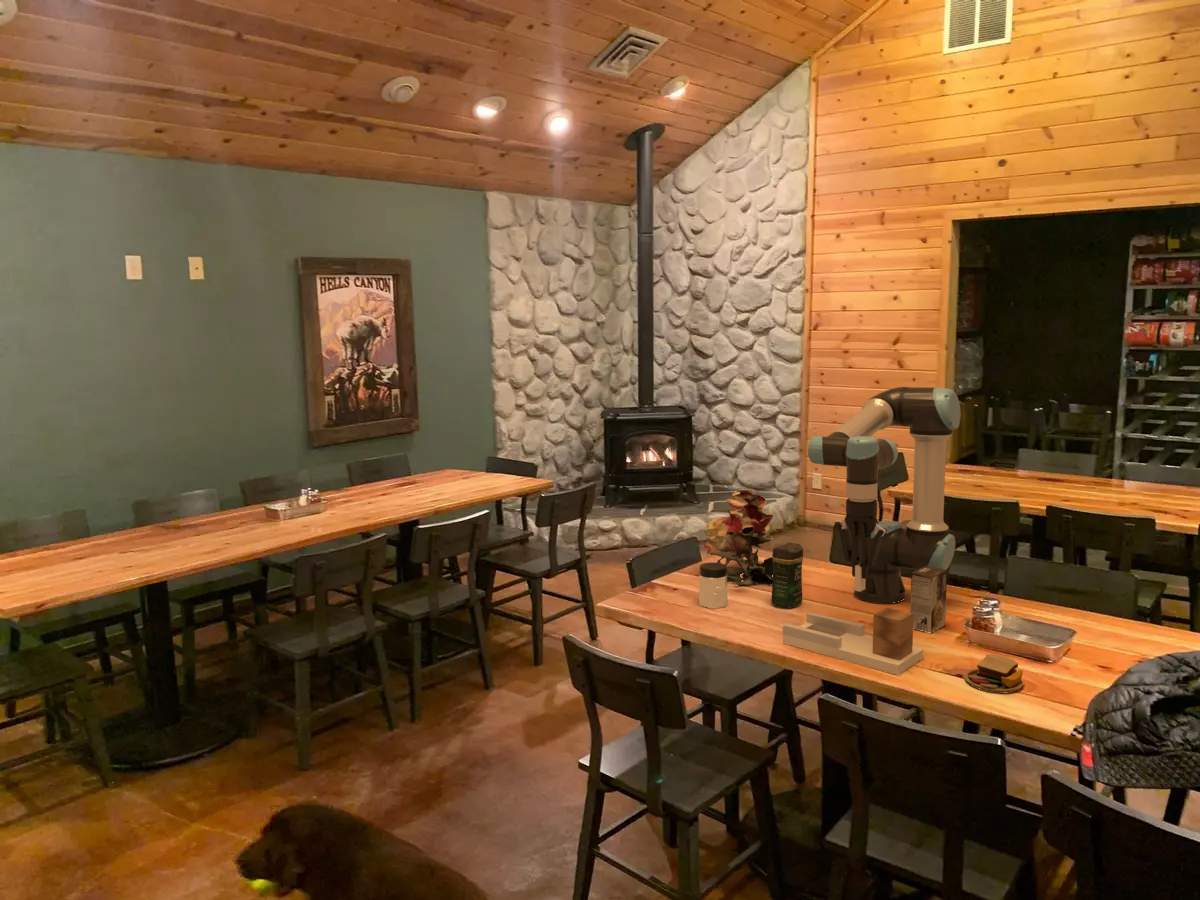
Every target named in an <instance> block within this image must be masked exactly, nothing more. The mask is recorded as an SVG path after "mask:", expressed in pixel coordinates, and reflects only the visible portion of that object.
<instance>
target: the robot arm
mask: <svg viewBox="0 0 1200 900" xmlns="http://www.w3.org/2000/svg"><path fill="white" fill-rule="evenodd" d="M960 404H961V403H960V401H959V397H958V395H957V394H956V393H955V391H954V390H952V389H950V388H945V387H944V388H943V387H937V386H936V387H926V386H925V387H923V386H922V387H919V386H917V387H914V386H913V387H911V386H909V387H908V386H898V387H893V388H890V389H887V390H884V391H882V392H879V393H877V394H875V395H874V396H872V397H870V398H869V399H868V400H866V401H865V402H864V403H863V405H862V407H861V410H859V411H857V412H856V413H855V414H853V416H852V417H850V418H849V419H848V420H847V421H845V422H844V423H843V424H842V425H840V426H838V428H836V429H835V430H834V431H833V432H831V433H830V434H829V435H828V436H824V435H819V436H812V438H810V440H809V442H808V445H807V456H808V459H809V461H810V462H811V463H812V464H815V465H822V466H833V467H834V466H835V467H845V468H846V479H845V481H846V483H845V484H846V485H845V487H846V488H845V497H846V498H847V499H846V500H845V513H846V514H845V517H844V520H843V521H841V522H837V523H836V524H835V527H836V529H837V531H838V532H839V536H840V541H841V546H842V551H843V555H844V556H843V557H844V560H845V562H850V563H851V569H852V570H851V575H852V577H853V578H854V589H853V591H854V592H853V596H854V595H855V596H856V597H857V599H858V598H859V599H858V600H860V599H861V601H863V600H864V601H863V602H867V601H868V602H867V603H872V602H877V603H876V604H880V603H892V604H894V603H893V602H898V601H901V600H903V599H905V597H907V594H906V593H907V591H906V588H905V584H904V581H903V578H902V575H901V574H902V573H901V568H903V569H909V570H910V569H911V570H914V571H916V570H918V569H920V568H922V567H924V566H930V567H935V568H939V569H944V570H947V569H948V568H949V567H950V565H951V563H952V561H953V558H954V554H955V549H956V537H955V536H954V535H953V534H951V533H949V530H950V529H949V526H948V525H947V523H945V521H944V513H945V512H944V511H945V510H944V509H945V482H946V463H947V462H946V459H947V457H946V455H947V441H948V439H950V438H951V437H952V435H953V431H954V430H957V429H958V428H959V426H960V423H961V422H960V421H961V416H962V413H961V405H960ZM894 426H895V427H905V428H906V427H909V435H910V436H911V437H912V438H913V440H914V455H913V456H914V459H913V485H912V487H913V488H912V489H913V490H912V511H911V512H912V517H911V520H910V521H909V522H908V523H907V524H906V528H903V525H902V523H901V522H900V521H896V520H886V521H885V520H884V521H882V520H881V521H878V519H877V517H878V516H877V515H878V501H877V498H878V486H879V485H878V483H879V482H878V479H879V478H878V475H879V471H880V470H884V469H887V468H889V467H891V465H893V464H895V462H896V461H897V459H898V456H899V450H898V447H897V445H896V444H895V442H894V441H892V440H890V439H889V438H876V437H874V436H873V435H875V434H876V433H877V432H878V431H880V430H884V429H887V428H889V427H894ZM855 596H854V597H855ZM856 597H855V598H856ZM905 600H906V599H905Z"/></svg>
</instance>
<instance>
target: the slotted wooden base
mask: <svg viewBox="0 0 1200 900" xmlns="http://www.w3.org/2000/svg"><path fill="white" fill-rule="evenodd" d="M783 643H786V644H785V645H787V644H790V645H789V646H791V645H793V646H792V647H794V646H796V647H795V648H798V647H800V648H799V649H801V648H803V649H802V650H805V649H806V650H805V651H809V650H810V651H809V652H812V651H813V653H817V654H819V653H821V654H820V655H824V656H827V657H831V658H834V659H838V660H841V661H844V662H845V661H846V662H849V663H853V664H856V665H859V666H864V667H867V668H870V669H874V670H878V671H881V672H886V673H888V672H889V673H888V674H892V675H895V674H896V676H899V675H901V674H902V673H904V672H905V671H907V670H908V669H910V668H911V667H913V666H914V665H916V664H917V663H919V662H920V661H921V660H920V659H922V658H923V659H924V654H925V653H924V651H925V650H924V648H922V647H918V646H913V645H912V653H911V654H909V655H907V656H906V657H904V658H903V659H901V660H900V661H899V660H895V659H892V658H888V657H884V656H880V655H877V654H873V635H869V634H865V624H863V623H862V624H861V623H857V622H853V621H849V620H845V619H841V618H837V617H832V616H830V615H825V614H820V613H815V612H808V613H806V622H805V623H803V624H801V625H795V624H791V623H784V624H783V625H782V644H783ZM923 659H922V660H923ZM919 660H920V661H919ZM918 661H919V662H918ZM916 662H917V663H916ZM915 663H916V664H915ZM913 664H914V665H913ZM912 665H913V666H912ZM910 666H911V667H910ZM909 667H910V668H909ZM907 668H908V669H907ZM906 669H907V670H906ZM904 670H905V671H904ZM903 671H904V672H903ZM901 672H902V673H901ZM900 673H901V674H900ZM898 674H899V675H898Z"/></svg>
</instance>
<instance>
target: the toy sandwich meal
mask: <svg viewBox="0 0 1200 900" xmlns="http://www.w3.org/2000/svg"><path fill="white" fill-rule="evenodd" d="M976 666H977V667H976V668H972V669H971V670H968V671H966V672H965V673H964V674H963V678H964V679H965V680H966V681H967V682H969V683H970V686H972V685H973V686H972V687H974V686H975V687H974V688H976V687H977V688H976V689H978V688H980V689H979V690H981V689H982V691H985V690H987V691H986V692H989V691H993V692H992V693H996V692H1009V693H1012V692H1011V691H1014V692H1016V691H1015V690H1017V691H1018V690H1019V689H1021V688H1022V687H1023V686H1024V681H1023V680H1022V677H1023V673H1024V670H1022V669H1019V670H1017V668H1019V663H1018V662H1017V661H1016V660H1014V659H1012V658H1009V657H1006V656H1003V655H999V654H991V653H988V654H986V655H985V656H984V658H983V659H982V660H981V661H979V662H978V663H977V664H976ZM969 683H968V684H969Z"/></svg>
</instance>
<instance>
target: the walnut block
mask: <svg viewBox="0 0 1200 900" xmlns="http://www.w3.org/2000/svg"><path fill="white" fill-rule="evenodd" d="M872 636H873V654H877V655H880V656H884V657H888V658H892V659H895V660H899V661H900V660H901V659H903V658H904V657H906V656H907V655H909V654H911V653H912V646H913V644H914V643H913V641H914V630H913V613H910V612H907V611H904V610H903V611H902V610H900V609H899V610H898V609H893V608H890V607H885V608H882V610H880V611H878V612H876V613H874V614H873V617H872Z"/></svg>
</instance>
